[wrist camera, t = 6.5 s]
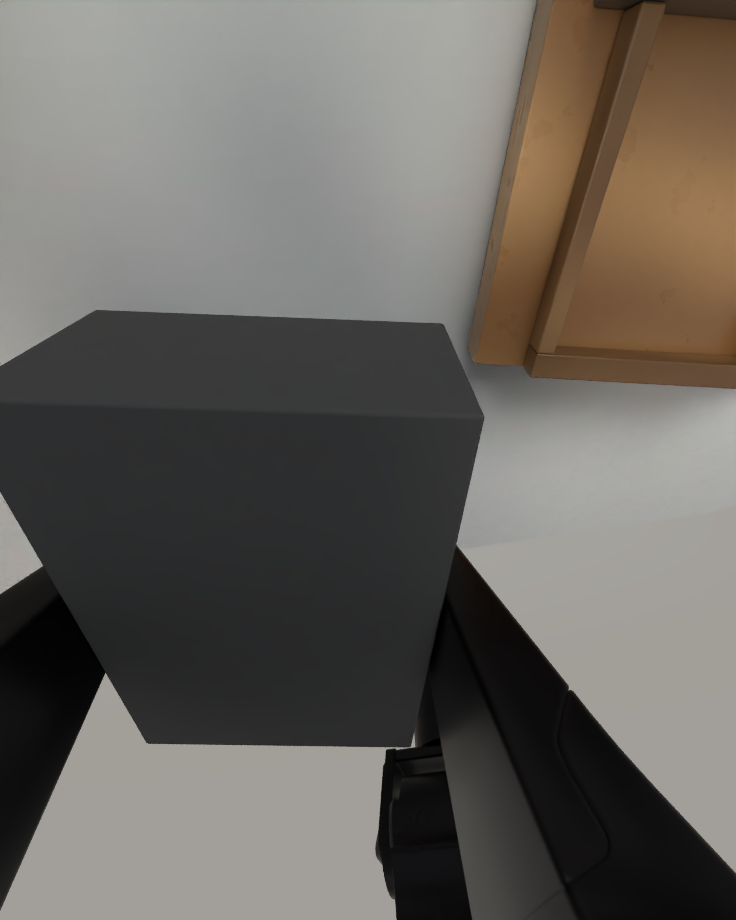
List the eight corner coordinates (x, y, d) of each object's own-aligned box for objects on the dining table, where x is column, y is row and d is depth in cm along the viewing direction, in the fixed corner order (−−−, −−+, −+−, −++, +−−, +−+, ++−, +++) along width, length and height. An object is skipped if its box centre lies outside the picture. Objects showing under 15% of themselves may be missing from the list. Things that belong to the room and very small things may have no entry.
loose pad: (401, 622, 12) (411, 748, 9) (192, 617, 11) (145, 744, 9) (444, 322, 7) (487, 415, 4) (94, 308, 7) (-59, 397, 4)
